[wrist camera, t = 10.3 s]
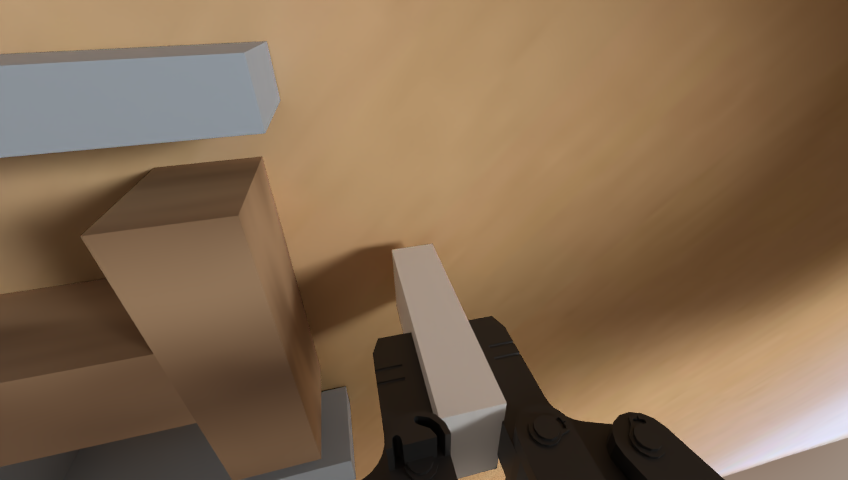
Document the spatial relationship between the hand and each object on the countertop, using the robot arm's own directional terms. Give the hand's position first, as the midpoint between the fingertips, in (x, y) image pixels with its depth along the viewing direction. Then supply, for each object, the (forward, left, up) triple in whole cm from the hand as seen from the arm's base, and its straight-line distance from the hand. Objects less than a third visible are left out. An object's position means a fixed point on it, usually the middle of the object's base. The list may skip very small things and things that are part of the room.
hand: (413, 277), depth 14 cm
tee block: (0, -9, -1) cm, 9 cm away
